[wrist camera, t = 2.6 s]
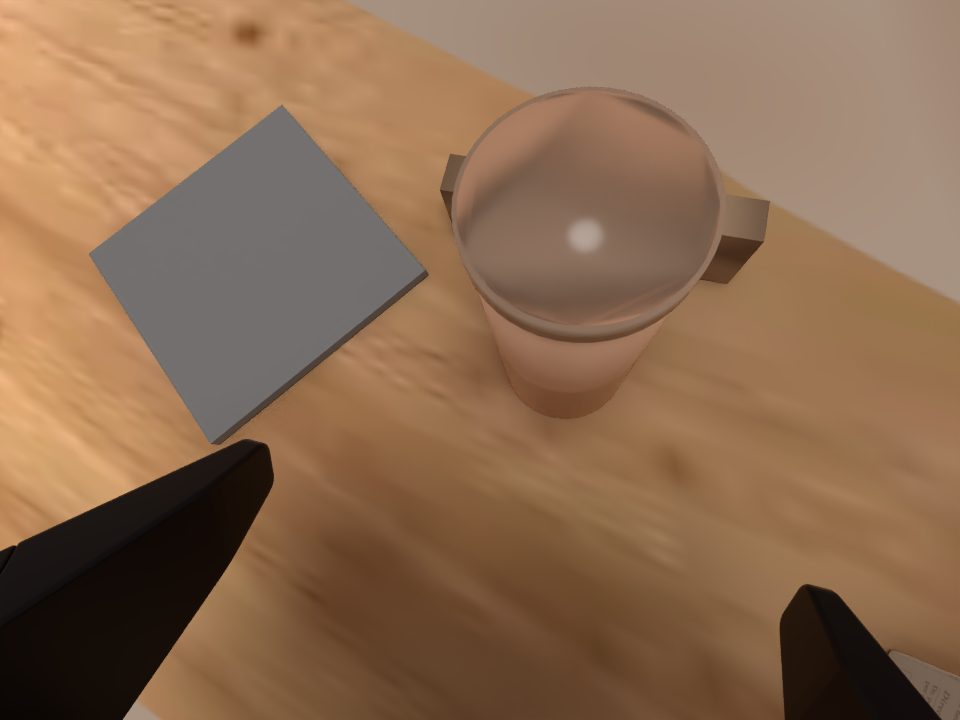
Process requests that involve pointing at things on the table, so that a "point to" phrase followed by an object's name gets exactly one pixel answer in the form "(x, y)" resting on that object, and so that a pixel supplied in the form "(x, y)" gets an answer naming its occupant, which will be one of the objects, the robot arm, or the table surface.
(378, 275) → the dark grey mat
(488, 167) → the terracotta jar
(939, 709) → the supplement box
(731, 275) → the walnut rail
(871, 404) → the table surface
